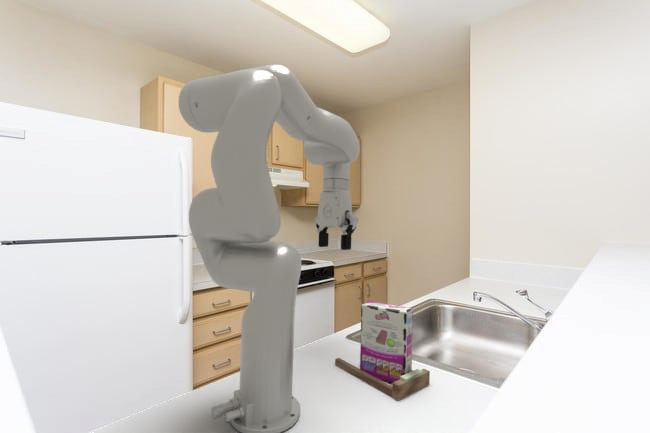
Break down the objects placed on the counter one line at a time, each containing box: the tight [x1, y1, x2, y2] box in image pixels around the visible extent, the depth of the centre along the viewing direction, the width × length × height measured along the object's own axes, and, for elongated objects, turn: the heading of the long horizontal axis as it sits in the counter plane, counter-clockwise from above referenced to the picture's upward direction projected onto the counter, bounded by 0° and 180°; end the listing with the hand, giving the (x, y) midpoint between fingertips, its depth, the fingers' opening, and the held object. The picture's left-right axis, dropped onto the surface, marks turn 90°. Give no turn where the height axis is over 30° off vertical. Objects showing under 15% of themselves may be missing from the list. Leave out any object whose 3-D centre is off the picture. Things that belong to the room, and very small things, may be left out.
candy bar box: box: [359, 300, 414, 384], centre depth 75 cm, size 11×5×16 cm, turn 57°
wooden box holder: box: [334, 357, 431, 401], centre depth 76 cm, size 11×20×4 cm, turn 39°
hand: (334, 248), depth 90 cm, fingers open, 9 cm apart
